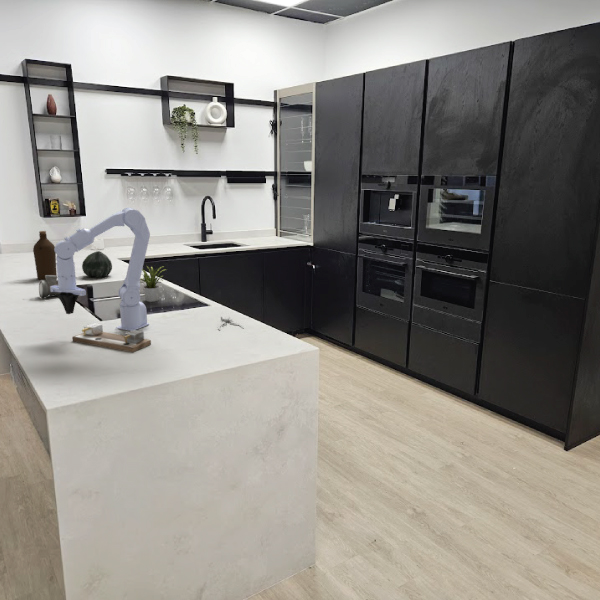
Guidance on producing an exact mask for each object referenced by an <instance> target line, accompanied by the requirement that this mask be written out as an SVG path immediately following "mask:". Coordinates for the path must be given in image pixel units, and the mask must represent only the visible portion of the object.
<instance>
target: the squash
mask: <svg viewBox="0 0 600 600" xmlns="http://www.w3.org/2000/svg"><path fill="white" fill-rule="evenodd" d="M112 263H113V262H112V261H111V259H110V258H109V257H108V256H107V255H106V254H105V253H103V252H102V251H100V250H99V251H98V250H96V251H94V252H92V253H90V254H88V255H87V256H86V257H85V259H83V261H82V264H81V269H82V272H83V274H85V275H86V276H87V277H97V278H106V276H109V275H110V273H111V272H112V269H113V264H112Z"/></svg>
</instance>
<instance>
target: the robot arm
mask: <svg viewBox="0 0 600 600" xmlns="http://www.w3.org/2000/svg"><path fill="white" fill-rule="evenodd" d="M125 225H126V226H127V227H128V228H129V229H130V230H131V231H132V234H133V235H134V240H133V244H132V249H131V253H130V258H129V262H128V267H127V271H126V276H125V278H124V280H123V282H122V283H123V284H122V285H121V286H120V288H119V290H118V297H119V298H120V299H121V301H120V302H119V312H120V314H119V315H120V325H117V326H116V327H115V329H118V330H125V331H128V332H130V331H133V330H137V331H138V330H139V329H142V328H143V327H147V326H149V325H150V323H149V322H148V315H147V312H148V311H147V307H146V305H145V304H144V302H142V301H141V293H140V289H141V280H140V279H141V275H142V274H143V271H142V269H144V267H143V266H144V263H145V258H146V255H147V250H148V244H149V241H150V237H151V233H150V230H149V227H148V224H147V221H146V218H145V217H144V215H143V213H141V212H140V211H139V210H137V209H135V208H132V207H125V208H124V209H122V210H119V211H117V212H115V213H112V214H110V216H108V217H106V218H104V219H103V220H102V221H100V222H99V223H97V224H95V225H94V226H93V227H91V228H82V229H81V228H78V229H76V232H74V233H73V234H71V235H69V236H65V237H64V240H59V241H58V242H56V243H55V245H54V246H55V249H54V250H55V253H56V271H57V280H58V286H56V285H54V286H50V290H51V292H61V293H60V294H59V295H56V296H57V298H58V300H59V301H60V302H61V304H62V306H63V309H64V312H65V314H67V315H70V314H74V312H75V306H76V302H77V300H78V298H79V297H83V296H87V291H86V288H85V289H84V288H81V287H78V286H77V277H76V266H75V264H76V263H75V261H74V255H75V253H76V252H77V253H78V252H80V251H82V250H83V249H85V248H86V247H88V246H90V245H92V244H93V243H94V240H95V238H96V237H98V236H100V235H101V234H103V233H105V232H106V231H110V230H111V229H112V228H114V227H125Z"/></svg>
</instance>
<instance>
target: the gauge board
mask: <svg viewBox="0 0 600 600" xmlns="http://www.w3.org/2000/svg"><path fill="white" fill-rule="evenodd" d="M72 342H77V343H82V344H87V345H92V346H97V347H103V348H107V349H113V350H119V351H125V352H131V353H134V352H137V351H139V350H141V349H143V348H146V347H148V346H150V345H151V344H152V340H151V339H147V338H145V335H144V331H141V330H138V329H137V330H133V331H128V332H126V333H124V335H123V334H119V333H118V334H117V333H111V332H106V331H103V333H101V334H98V335H95V336H89V335H86V336H84V332H82V333H80V334H79V333H78V334H77V335H74V336H72Z"/></svg>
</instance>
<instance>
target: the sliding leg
mask: <svg viewBox="0 0 600 600" xmlns="http://www.w3.org/2000/svg"><path fill="white" fill-rule="evenodd" d="M81 331H82V333H84V336H86V335H89V336H95V335H98V334H101V333H103V332H104V331H103V324H102V323H96V322H95V323H94V322H93V323H90V324H87V325H84V326H83V329H81Z"/></svg>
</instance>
